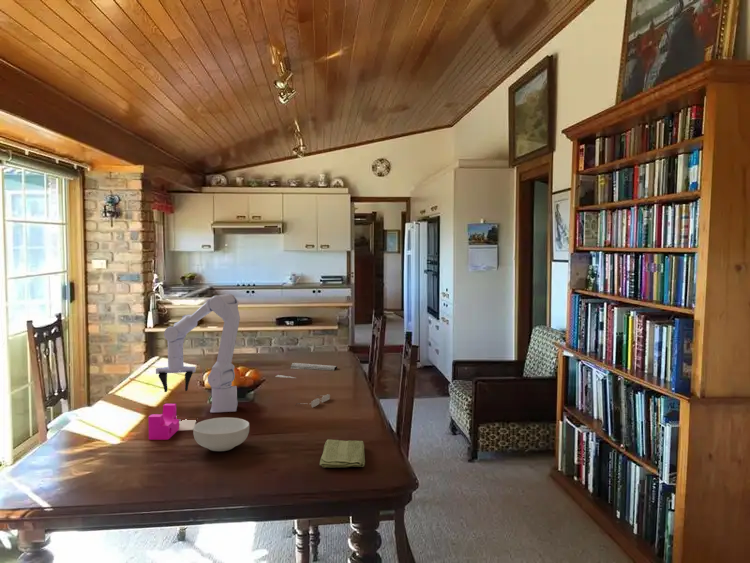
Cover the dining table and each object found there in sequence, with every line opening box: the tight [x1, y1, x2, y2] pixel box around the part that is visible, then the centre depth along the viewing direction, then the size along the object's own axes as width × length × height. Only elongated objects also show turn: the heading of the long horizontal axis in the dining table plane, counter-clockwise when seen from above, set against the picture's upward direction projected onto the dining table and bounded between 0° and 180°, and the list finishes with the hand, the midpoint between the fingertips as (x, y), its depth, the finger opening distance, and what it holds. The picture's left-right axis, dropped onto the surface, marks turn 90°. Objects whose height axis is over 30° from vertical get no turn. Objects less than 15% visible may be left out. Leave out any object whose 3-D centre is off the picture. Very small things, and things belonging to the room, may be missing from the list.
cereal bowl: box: [192, 416, 250, 452], centre depth 175 cm, size 17×17×7 cm
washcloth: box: [319, 439, 366, 468], centre depth 167 cm, size 13×18×3 cm
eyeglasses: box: [295, 394, 331, 408], centre depth 223 cm, size 14×8×4 cm, turn 152°
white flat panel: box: [177, 419, 197, 432], centre depth 200 cm, size 14×20×1 cm
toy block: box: [147, 403, 179, 441], centre depth 189 cm, size 15×6×8 cm, turn 0°
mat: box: [275, 362, 338, 379], centre depth 270 cm, size 23×24×5 cm
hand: (176, 390), depth 220 cm, fingers open, 7 cm apart
